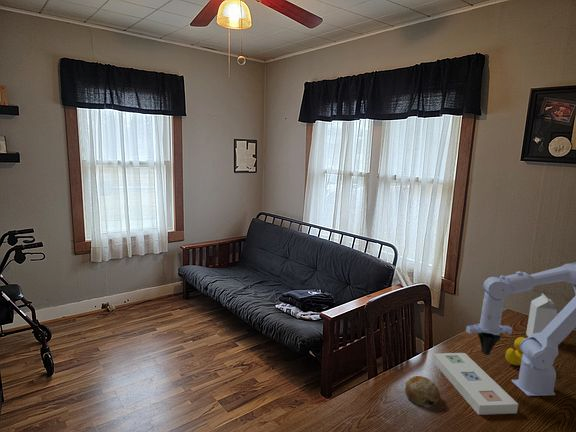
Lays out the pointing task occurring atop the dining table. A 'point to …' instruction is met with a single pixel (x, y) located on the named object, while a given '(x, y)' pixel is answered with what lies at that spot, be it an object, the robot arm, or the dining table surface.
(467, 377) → the button three
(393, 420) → the dining table surface
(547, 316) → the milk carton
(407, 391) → the bread roll
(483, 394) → the button one
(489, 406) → the button panel
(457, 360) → the button two
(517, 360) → the duckling
